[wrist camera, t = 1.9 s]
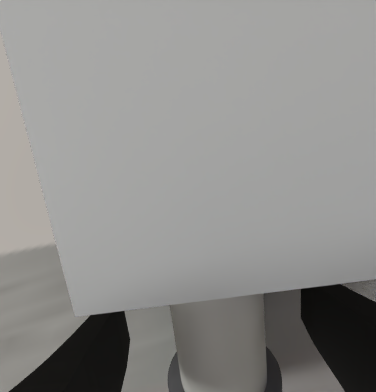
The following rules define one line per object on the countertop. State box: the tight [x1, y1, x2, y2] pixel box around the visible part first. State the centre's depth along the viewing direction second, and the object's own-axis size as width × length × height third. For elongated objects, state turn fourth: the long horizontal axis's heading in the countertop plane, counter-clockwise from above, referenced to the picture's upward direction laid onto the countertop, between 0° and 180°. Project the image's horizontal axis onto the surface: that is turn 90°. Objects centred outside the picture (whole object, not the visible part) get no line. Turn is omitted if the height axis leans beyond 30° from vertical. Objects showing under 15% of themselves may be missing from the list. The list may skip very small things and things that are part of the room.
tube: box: [168, 294, 282, 392], centre depth 9 cm, size 18×4×4 cm, turn 6°
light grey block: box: [0, 0, 376, 317], centre depth 8 cm, size 8×6×6 cm
